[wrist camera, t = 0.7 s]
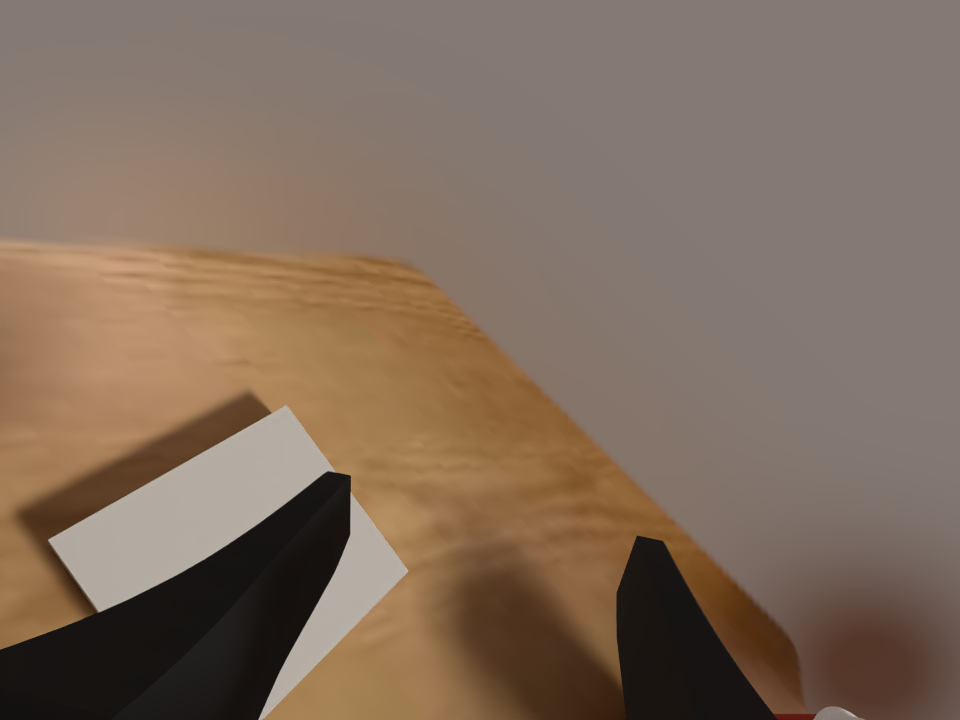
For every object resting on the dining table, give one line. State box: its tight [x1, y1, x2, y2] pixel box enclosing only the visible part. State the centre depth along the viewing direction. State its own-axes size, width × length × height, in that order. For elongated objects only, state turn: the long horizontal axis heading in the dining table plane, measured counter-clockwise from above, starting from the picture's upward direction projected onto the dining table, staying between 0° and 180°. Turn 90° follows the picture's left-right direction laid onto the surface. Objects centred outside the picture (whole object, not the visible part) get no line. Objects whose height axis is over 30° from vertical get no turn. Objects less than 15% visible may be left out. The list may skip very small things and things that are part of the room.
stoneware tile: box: [48, 405, 408, 720], centre depth 25 cm, size 11×11×2 cm
